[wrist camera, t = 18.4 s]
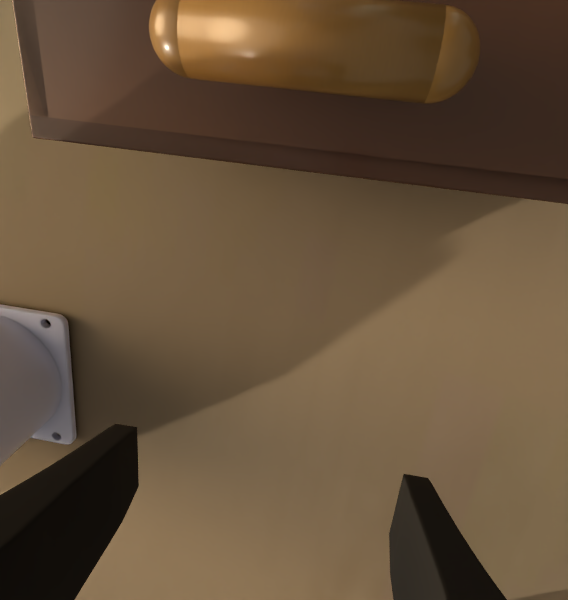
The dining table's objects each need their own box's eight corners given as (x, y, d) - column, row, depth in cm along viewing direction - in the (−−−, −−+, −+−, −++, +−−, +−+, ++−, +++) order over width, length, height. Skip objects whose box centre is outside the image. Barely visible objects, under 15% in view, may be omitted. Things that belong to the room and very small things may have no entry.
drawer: (156, -34, 16) (-166, -209, 6) (559, 0, 15) (950, -157, 5) (160, 114, 19) (-74, 156, 9) (511, 155, 17) (717, 260, 7)
